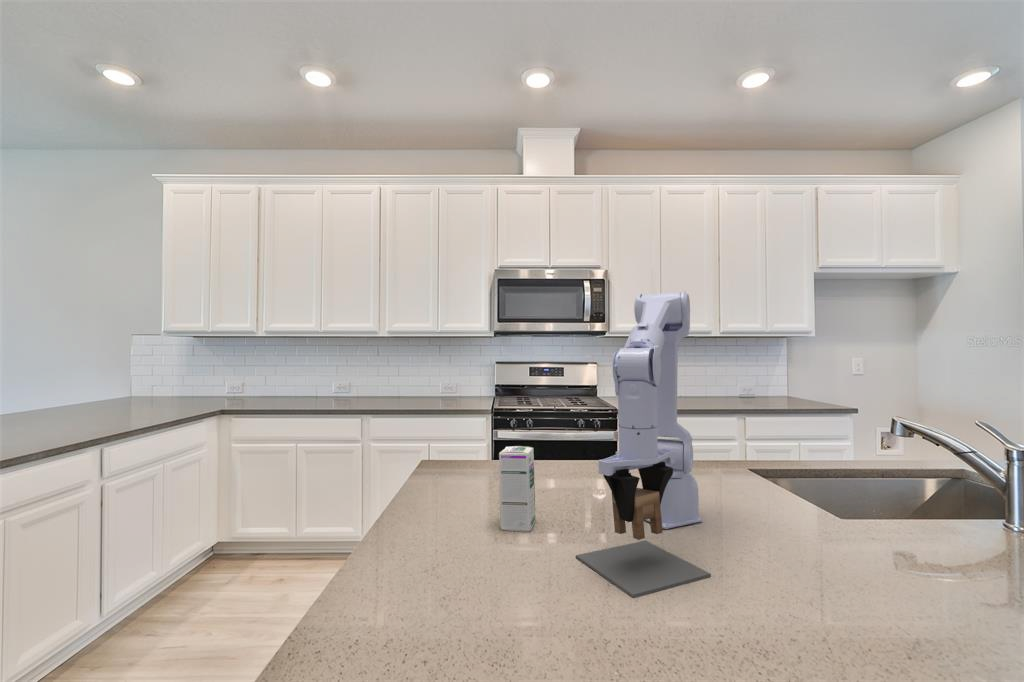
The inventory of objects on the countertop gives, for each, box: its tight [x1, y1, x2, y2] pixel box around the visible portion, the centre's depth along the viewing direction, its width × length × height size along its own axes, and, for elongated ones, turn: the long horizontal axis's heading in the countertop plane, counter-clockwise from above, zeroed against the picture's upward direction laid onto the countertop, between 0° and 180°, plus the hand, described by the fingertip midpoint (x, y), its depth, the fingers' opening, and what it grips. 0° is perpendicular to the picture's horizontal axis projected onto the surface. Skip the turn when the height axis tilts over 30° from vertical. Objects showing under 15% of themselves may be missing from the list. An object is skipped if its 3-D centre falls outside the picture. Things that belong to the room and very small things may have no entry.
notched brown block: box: [611, 487, 664, 541], centre depth 73 cm, size 5×5×6 cm
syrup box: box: [498, 445, 536, 533], centre depth 91 cm, size 6×6×14 cm
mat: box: [575, 540, 712, 599], centre depth 73 cm, size 14×14×1 cm
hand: (639, 516), depth 73 cm, fingers closed on notched brown block, 5 cm apart
